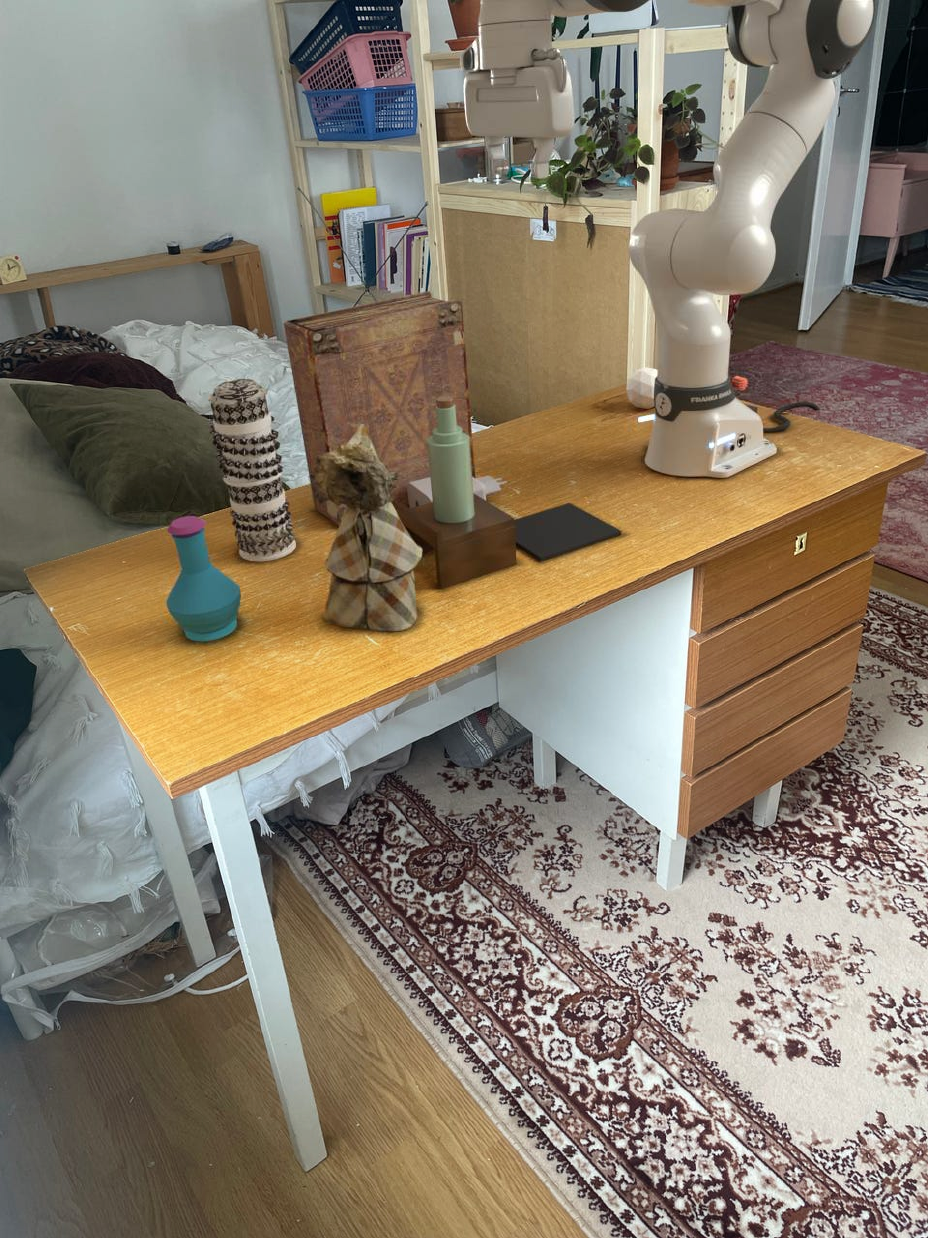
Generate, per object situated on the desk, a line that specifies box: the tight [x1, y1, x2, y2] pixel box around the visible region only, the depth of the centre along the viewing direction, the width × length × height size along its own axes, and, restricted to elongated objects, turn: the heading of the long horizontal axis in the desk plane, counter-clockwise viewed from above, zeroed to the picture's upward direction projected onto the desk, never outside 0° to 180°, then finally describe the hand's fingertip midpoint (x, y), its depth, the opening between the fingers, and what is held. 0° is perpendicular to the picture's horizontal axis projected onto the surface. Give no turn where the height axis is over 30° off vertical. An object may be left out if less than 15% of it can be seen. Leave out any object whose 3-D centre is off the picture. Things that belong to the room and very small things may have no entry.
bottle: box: [427, 396, 475, 523], centre depth 125 cm, size 6×6×16 cm
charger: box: [407, 475, 508, 508], centre depth 148 cm, size 5×9×15 cm
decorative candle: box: [207, 378, 297, 563], centre depth 134 cm, size 9×9×25 cm
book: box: [283, 290, 476, 526], centre depth 146 cm, size 25×9×30 cm, turn 123°
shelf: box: [395, 493, 518, 590], centre depth 131 cm, size 12×12×8 cm
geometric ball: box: [625, 366, 658, 410], centre depth 182 cm, size 8×8×8 cm
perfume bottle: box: [165, 515, 242, 642], centre depth 118 cm, size 9×9×15 cm
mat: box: [514, 502, 622, 562], centre depth 138 cm, size 14×13×1 cm
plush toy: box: [308, 424, 423, 632], centre depth 116 cm, size 14×14×25 cm
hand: (519, 175), depth 122 cm, fingers open, 8 cm apart
